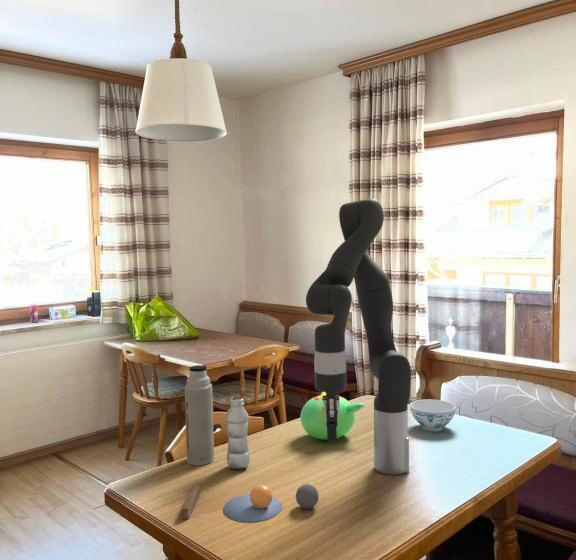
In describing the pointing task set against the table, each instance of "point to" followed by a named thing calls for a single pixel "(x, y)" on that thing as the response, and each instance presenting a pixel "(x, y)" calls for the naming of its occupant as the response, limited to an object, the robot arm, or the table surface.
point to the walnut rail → (190, 502)
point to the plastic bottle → (237, 434)
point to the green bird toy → (316, 421)
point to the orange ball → (261, 496)
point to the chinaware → (432, 413)
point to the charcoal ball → (307, 496)
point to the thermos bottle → (199, 417)
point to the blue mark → (250, 509)
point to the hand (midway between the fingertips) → (331, 441)
